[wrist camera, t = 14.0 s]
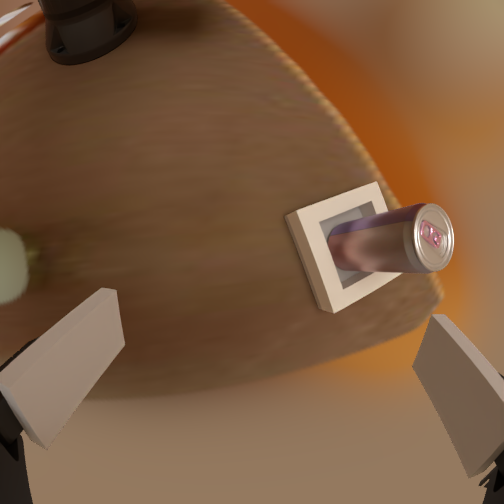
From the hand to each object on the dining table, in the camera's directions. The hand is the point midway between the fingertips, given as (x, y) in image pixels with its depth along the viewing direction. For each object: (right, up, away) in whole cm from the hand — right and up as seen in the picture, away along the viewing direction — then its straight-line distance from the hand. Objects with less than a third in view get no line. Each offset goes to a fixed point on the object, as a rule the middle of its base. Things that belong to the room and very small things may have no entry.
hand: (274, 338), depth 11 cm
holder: (+11, +4, +25) cm, 27 cm away
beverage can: (+11, +4, +24) cm, 26 cm away
